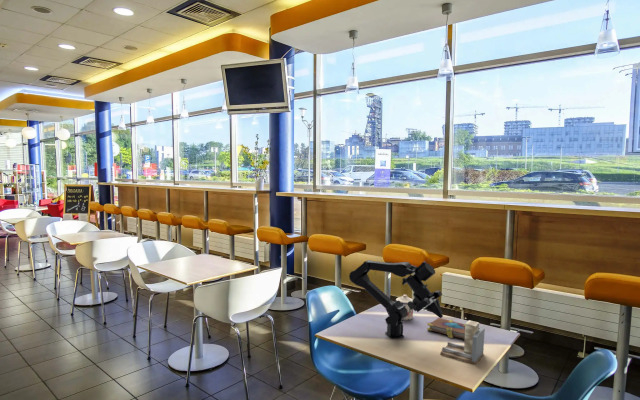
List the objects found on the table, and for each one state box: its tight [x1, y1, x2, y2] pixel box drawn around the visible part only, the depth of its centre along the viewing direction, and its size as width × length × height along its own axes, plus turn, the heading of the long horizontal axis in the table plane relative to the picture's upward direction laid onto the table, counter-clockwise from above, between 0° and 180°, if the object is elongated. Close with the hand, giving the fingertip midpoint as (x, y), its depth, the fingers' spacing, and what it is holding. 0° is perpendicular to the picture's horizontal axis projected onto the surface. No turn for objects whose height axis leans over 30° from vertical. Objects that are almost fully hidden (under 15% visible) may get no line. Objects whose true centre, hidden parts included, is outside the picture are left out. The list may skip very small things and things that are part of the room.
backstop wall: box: [472, 327, 485, 362], centre depth 160 cm, size 2×12×10 cm, turn 144°
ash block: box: [463, 319, 480, 355], centre depth 162 cm, size 4×5×13 cm
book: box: [426, 317, 481, 340], centre depth 189 cm, size 16×25×5 cm, turn 52°
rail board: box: [439, 341, 484, 365], centre depth 164 cm, size 14×12×2 cm
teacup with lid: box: [395, 294, 414, 321], centre depth 207 cm, size 12×9×12 cm
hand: (441, 317), depth 169 cm, fingers closed
